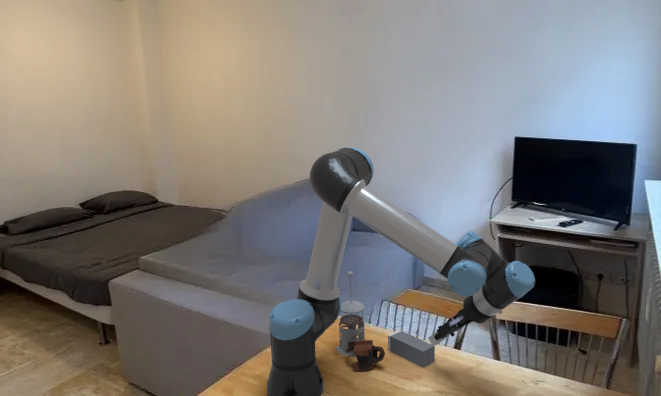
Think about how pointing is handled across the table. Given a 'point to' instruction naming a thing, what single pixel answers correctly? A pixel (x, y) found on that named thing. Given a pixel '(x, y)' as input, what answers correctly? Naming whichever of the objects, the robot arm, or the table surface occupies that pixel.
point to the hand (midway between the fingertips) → (432, 341)
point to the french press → (350, 324)
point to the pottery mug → (365, 354)
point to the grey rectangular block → (411, 348)
